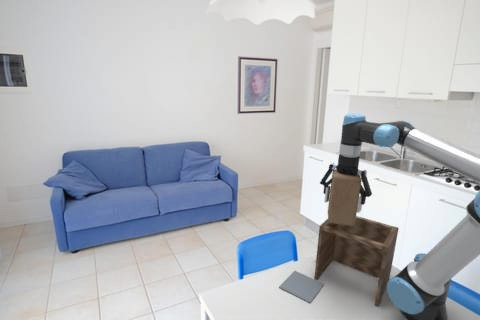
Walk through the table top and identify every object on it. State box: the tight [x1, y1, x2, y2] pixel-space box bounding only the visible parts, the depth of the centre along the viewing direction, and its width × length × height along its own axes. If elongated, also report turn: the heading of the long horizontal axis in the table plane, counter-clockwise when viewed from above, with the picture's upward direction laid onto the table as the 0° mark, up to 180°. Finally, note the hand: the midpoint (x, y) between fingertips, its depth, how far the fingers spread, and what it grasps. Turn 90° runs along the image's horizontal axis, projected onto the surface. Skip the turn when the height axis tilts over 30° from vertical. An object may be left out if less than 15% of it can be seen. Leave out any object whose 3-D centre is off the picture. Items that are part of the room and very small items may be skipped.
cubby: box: [313, 215, 400, 308], centre depth 123 cm, size 26×20×26 cm
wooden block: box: [327, 168, 362, 226], centre depth 115 cm, size 10×10×20 cm
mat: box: [278, 270, 325, 304], centre depth 122 cm, size 14×14×1 cm
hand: (342, 206), depth 116 cm, fingers open, 13 cm apart
